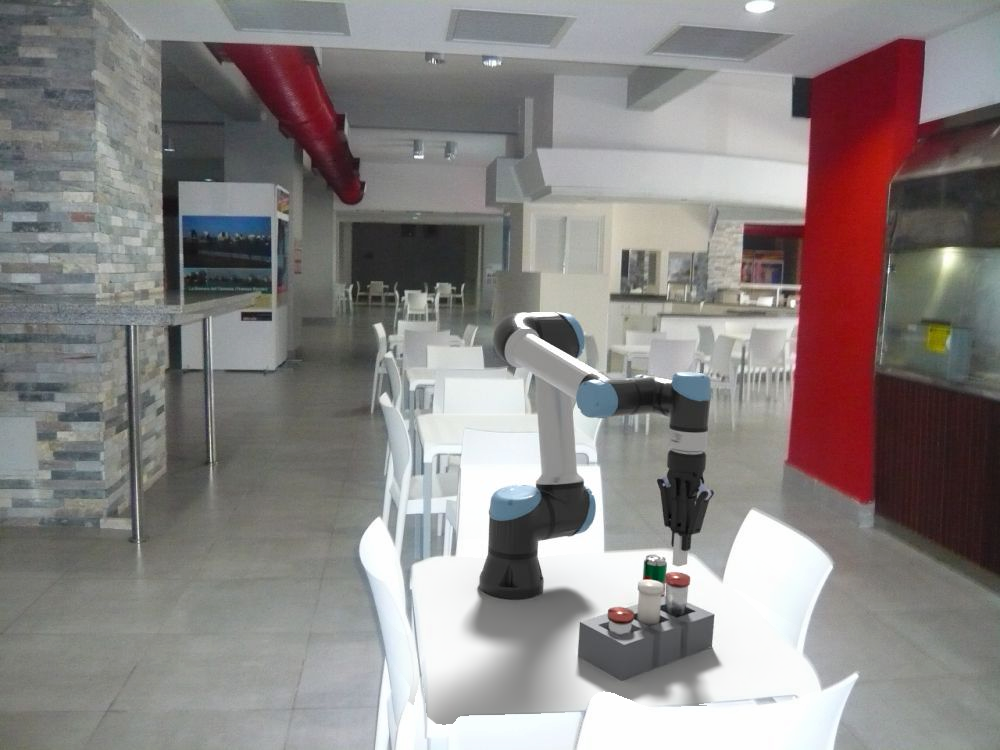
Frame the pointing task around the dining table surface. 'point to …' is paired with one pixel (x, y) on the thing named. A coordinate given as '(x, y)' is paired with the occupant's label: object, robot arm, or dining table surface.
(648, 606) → the white capped bottle
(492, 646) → the dining table surface
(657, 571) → the soda can
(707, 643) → the gray vial holder
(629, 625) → the red-capped vial
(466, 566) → the dining table surface
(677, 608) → the clear jar
